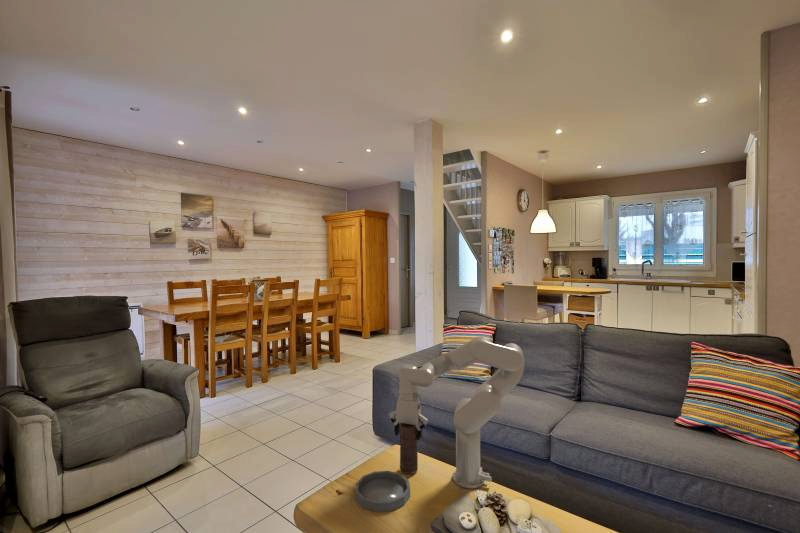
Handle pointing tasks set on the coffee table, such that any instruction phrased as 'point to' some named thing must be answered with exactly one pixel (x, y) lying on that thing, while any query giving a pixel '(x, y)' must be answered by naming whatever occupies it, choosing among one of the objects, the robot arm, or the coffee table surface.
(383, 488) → the round tray
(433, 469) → the coffee table surface
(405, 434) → the mottled brown cylinder
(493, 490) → the coffee table surface
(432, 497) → the coffee table surface
